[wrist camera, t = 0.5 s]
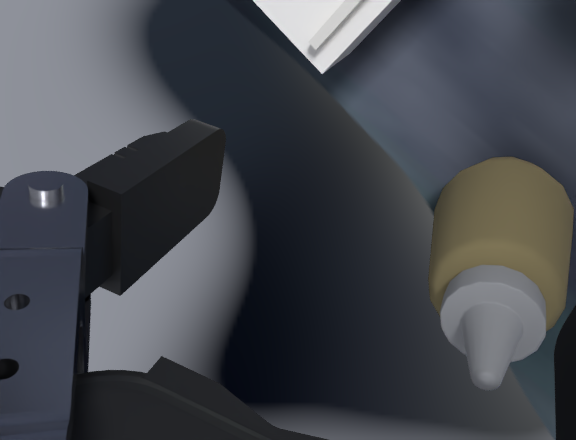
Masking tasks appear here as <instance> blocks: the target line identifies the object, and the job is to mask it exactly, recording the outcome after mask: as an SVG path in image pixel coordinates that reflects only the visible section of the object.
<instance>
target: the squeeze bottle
mask: <svg viewBox="0 0 576 440" xmlns="http://www.w3.org/2000/svg"><path fill="white" fill-rule="evenodd" d="M573 213H574V208H573V206H572V204H571V202H570V200H569V198H568V196H567V194H566V192H565V189H564V187H563V186H562V185H561V184H560V183H559V182H557V181H556V180H555V179H554V178H553V177H551V176H550V175H549V174H548V173H547V172H545V171H544V170H543V169H542V168H540V167H538V166H536V165H534V164H532V163H530V162H527V161H524V160H521V159H518V158H515V157H493V158H490V159H488V160H485V161H483V162H481V163H478V164H476V165H473V166H471V167H469V168H467V169H464V170H462V171H460V172H459V173H458V174H457V175H456V176H455V177H454V178H453V179H452V180H451V181H450V182H449V183H448V184H447V185H446V186H445V187H444V188H443V189H442V192H441V194H440V197H439V200H438V202H437V205H436V207H435V211H434V222H433V234H432V244H431V255H430V266H429V277H428V280H429V293H430V300H431V302H432V303H433V306H434V307H435V309H436V311H437V313H438V314H439V316H440V321H441V328H442V330H443V332H444V334H445V335H446V337H447V339H448V341H449V342H450V343H451V344H452V345H454V346H455V347H456V348H457V349H458V350H460V351H461V352H462V353H463V354H465V355H467V360H468V365H469V371H470V375H471V380H472V382H473V384H474V385H476V386H477V387H478V388H480V389H483V390H489V391H490V390H495V389H496V388H498V387H499V386H500V385H501V383H502V380H503V378H504V375H505V373H506V371H507V368H508V366H509V364H510V362H514V361H518V360H522V359H524V358H526V357H527V356H529V355H530V354H532V353H533V352H535V351H537V350H538V348H539V346H540V345H541V343H542V342H543V340H544V338H545V337H546V331H548V330H549V329H551V328H552V327H554V325H555V323H556V322H557V320H558V319H559V317H560V315H561V314H562V312H563V311H564V309H565V305H566V295H567V285H568V275H569V265H570V255H571V244H572V234H573Z"/></svg>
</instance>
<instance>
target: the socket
mask: <svg viewBox="0 0 576 440" xmlns="http://www.w3.org/2000/svg"><path fill="white" fill-rule="evenodd" d="M253 1H254V2H255V3H256V4H257V6H258V7H259V8H260V9H261V10H262V11H263V12H264V13H265V14H266V15H267V16H268V17H269V18H270V19H271V20H272V21H273V23H274V24H275V25H276V26H277V27H278V28H279V29H280V30H281V31H282V32H283V33H284V34H285V35H286V36H287V37H288V38H289V40H290V41H291V42H292V43H293V44H294V45H295V46H296V47H297V48H298V49H299V50H300V51H301V52H302V53H303V54H304V55H305V57H306V58H307V59H308V60H309V61H310V62H311V63H312V64H313V65H314V66H315V67H316V68H317V69H318V70H319V71H320V72H321V74H323V73H324V72H326V71H327V70H328V69H330V68H331V67H332V66H334V65H335V64H336V63H338V62H339V61H341V60H342V59H343V58H345V57H346V56H347V55H349V54H350V53H351V52H352V51H353V50H354V49H355V48H356V47H357V46H358V45H359V44H360V43H361V42H362V41H363V39H364V38H365V37H366V36H367V35H368V34H369V33H370V32H371V31H372V30H373V29H374V28H375V27H376V26H377V25H378V24H379V23H380V22H381V21H382V20H383V19H384V18H385V17H386V16H387V14H388V13H389V12H390V11H391V10H392V9H393V8H394V7H395V6H396V5H397V4H398V3H399V2H400V1H401V0H253Z"/></svg>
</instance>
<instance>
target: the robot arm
mask: <svg viewBox="0 0 576 440" xmlns="http://www.w3.org/2000/svg"><path fill="white" fill-rule="evenodd" d="M225 142H226V136H225V132H224V130H222V129H220V128H217V127H214V126H211V125H208V124H206V123H203V122H200V121H197V120H194V119H190V120H188V121H187V122H185V123H183V124H181V125H180V126H178V127H176V128H175V129H173V130H171V131H170V132H168V133H167V132H161V133H156V134H152V135H148V136H143V137H142V138H139V139H138V140H136V141H134V142H132V143H131V144H129V145H128V146H127V148H126V147H124V148H122V149H120V150H118V151H116V152H115V154H114V155H112V154H111V155H109V156H108V157H106V158H104V159H102V160H100V161H99V162H97V163H95V164H93V165H92V166H90V167H88V168H86V169H85V170H83V171H81V172H80V173H77V174H76V175H74V176H73V175H71V174H67V173H63V172H57V171H39V172H32V173H27V174H24V175H21V176H18V177H16V178H14V179H12V180H11V181H10V182H9V183H7V184H6V185H5V187H0V440H327V439H323V438H319V437H314V436H310V435H305V434H301V433H296V432H292V431H288V430H283V429H279V428H277V427H275V426H273V425H271V424H270V423H268V422H267V421H266V420H264V419H263V418H262V417H260V416H259V415H258V414H257V413H255V412H254V411H253V410H252V409H251V408H249V407H248V406H247V405H246V404H244V403H243V402H242V401H241V400H239V399H238V398H237V397H235V396H234V395H233V394H232V393H231V392H229V391H228V390H227V389H226V388H224V387H223V386H222V385H221V384H219V383H217V382H215V381H213V380H211V379H208V378H207V377H205V376H202V375H200V374H198V373H196V372H194V371H192V370H190V369H188V368H186V367H184V366H181V365H179V364H177V363H175V362H173V361H171V360H169V359H167V358H164V357H162V356H161V358H160V359H159V360H158V361H157V362H156V363H155V365H154V366H153V367H152V368H151V369H150V370H149V372H148V373H143V372H136V371H126V370H105V371H94V372H88V363H89V340H90V316H91V293H92V292H93V291H94V290H95V289H96V288H98V287H99V286H100V287H102V288H104V289H107V290H109V291H111V292H113V293H115V294H118V295H122V294H123V293H124V292H125V291H126V290H127V289H128V288H129V287H130V286H132V285H133V284H134V283H135V282H136V281H137V280H138V279H139V278H140V277H141V276H142V275H144V274H145V273H146V272H147V271H148V270H149V269H150V268H151V267H152V266H153V265H155V264H156V263H157V262H158V261H159V260H160V259H161V258H162V257H163V256H164V255H166V254H167V253H168V252H169V251H170V250H171V249H172V248H173V247H174V246H175V245H176V244H178V243H179V242H180V241H181V240H182V239H183V238H184V237H185V236H186V235H187V234H189V233H190V232H191V231H192V230H193V229H194V228H195V227H196V226H197V225H198V224H200V223H201V222H202V221H203V220H204V219H205V218H206V217H207V216H208V215H209V214H210V212H211V211H212V209H213V208H214V206H215V204H216V201H217V198H218V195H219V189H220V181H221V173H222V166H223V158H224V150H225ZM554 372H555V415H556V440H576V305H575V307H574V308H573V310H572V312H571V313H570V315H569V316H568V318H567V320H566V321H565V323H564V324H563V326H562V328H561V330H560V333H559V335H558V338H557V341H556V345H555V350H554Z"/></svg>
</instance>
